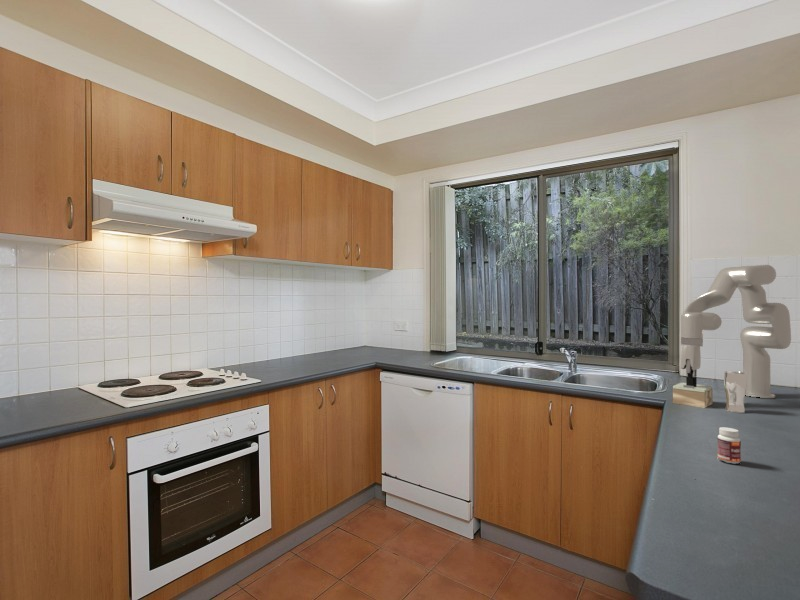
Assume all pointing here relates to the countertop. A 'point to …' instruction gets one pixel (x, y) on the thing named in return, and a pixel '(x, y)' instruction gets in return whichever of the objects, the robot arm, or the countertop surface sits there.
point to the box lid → (698, 388)
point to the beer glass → (735, 391)
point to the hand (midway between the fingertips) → (691, 386)
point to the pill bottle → (729, 445)
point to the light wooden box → (693, 398)
